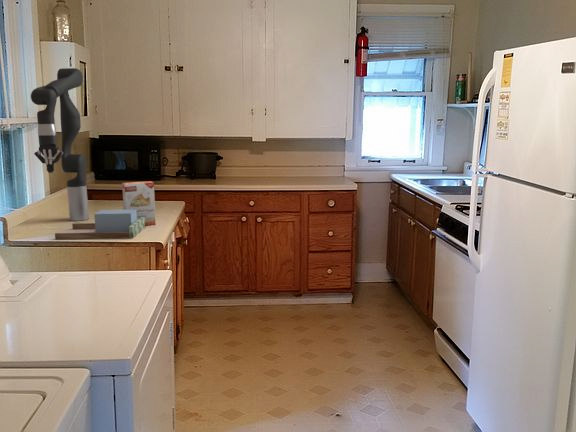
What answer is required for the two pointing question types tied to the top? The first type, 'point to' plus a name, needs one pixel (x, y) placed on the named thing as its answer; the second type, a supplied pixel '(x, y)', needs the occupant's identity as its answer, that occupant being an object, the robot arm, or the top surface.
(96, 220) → the slate block
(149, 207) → the cracker box
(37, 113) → the robot arm
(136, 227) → the tray
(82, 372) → the top surface
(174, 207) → the top surface
